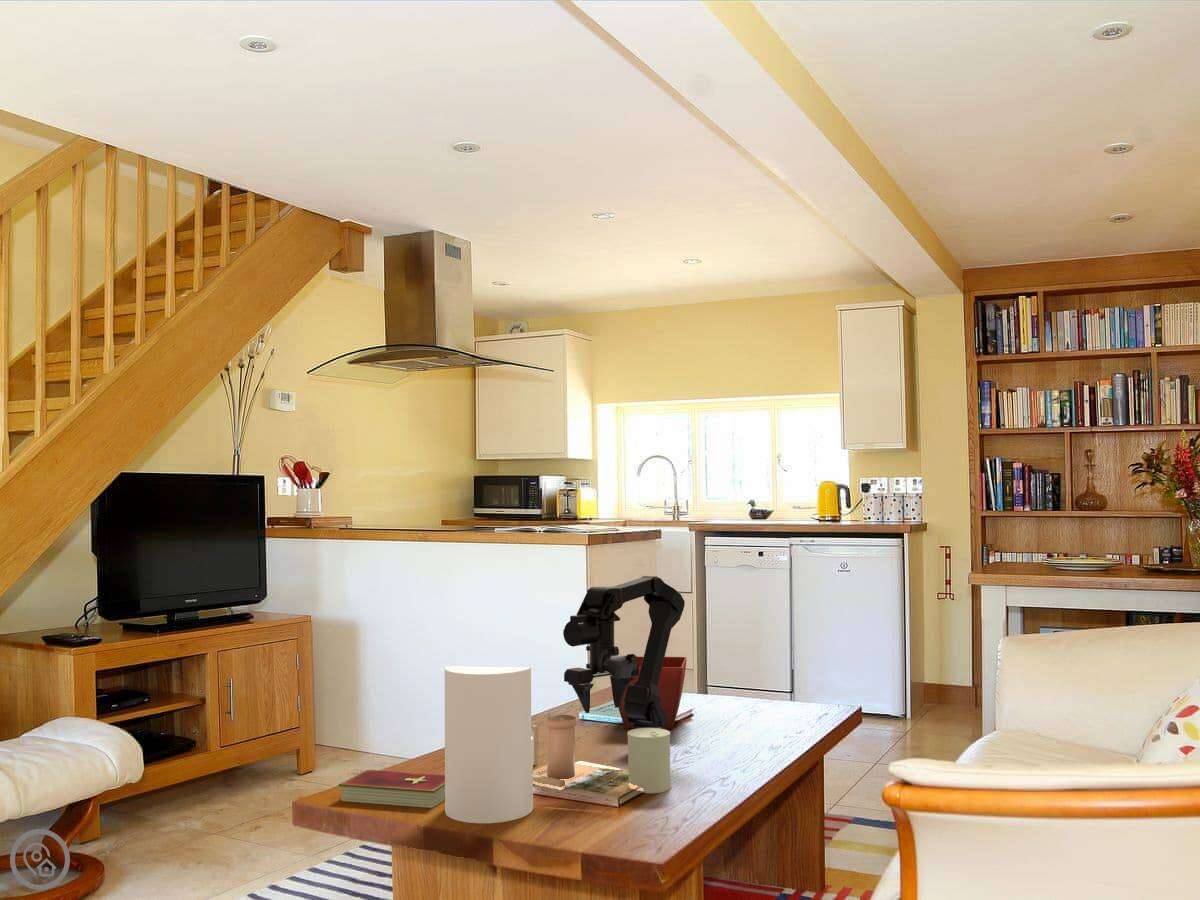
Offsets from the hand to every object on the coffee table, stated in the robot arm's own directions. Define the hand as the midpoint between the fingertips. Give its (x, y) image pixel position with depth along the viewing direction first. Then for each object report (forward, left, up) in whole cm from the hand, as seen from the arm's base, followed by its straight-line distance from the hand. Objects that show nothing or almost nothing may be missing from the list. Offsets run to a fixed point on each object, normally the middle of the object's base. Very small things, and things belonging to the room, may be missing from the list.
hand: (602, 710), depth 240 cm
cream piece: (+7, +11, -12) cm, 18 cm away
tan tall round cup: (+5, +15, -12) cm, 20 cm away
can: (-15, +16, -13) cm, 25 cm away
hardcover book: (+34, +35, -13) cm, 51 cm away
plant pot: (-1, -43, -13) cm, 45 cm away
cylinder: (+12, +39, -13) cm, 43 cm away
